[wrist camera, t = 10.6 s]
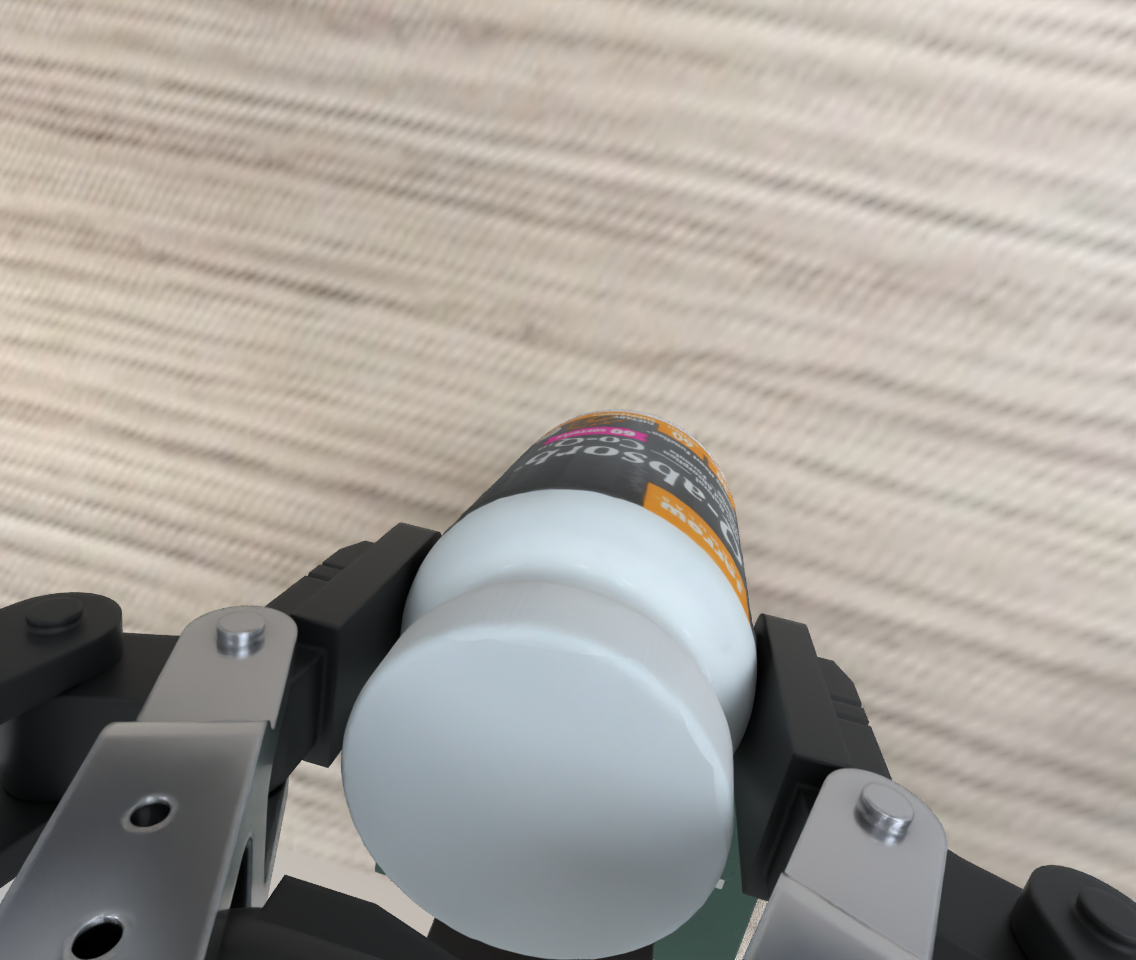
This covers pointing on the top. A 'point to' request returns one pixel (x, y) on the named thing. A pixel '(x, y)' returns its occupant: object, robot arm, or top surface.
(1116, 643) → the top surface
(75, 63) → the top surface
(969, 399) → the top surface
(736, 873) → the base plate
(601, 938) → the pill bottle
